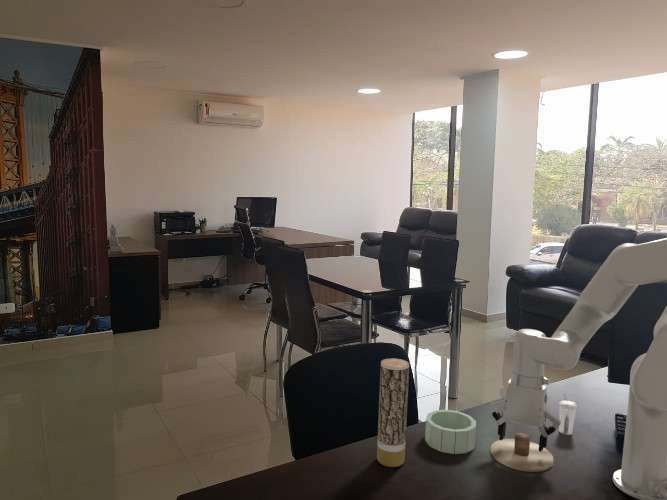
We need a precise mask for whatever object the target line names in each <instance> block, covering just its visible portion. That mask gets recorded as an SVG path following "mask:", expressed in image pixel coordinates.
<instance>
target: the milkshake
mask: <svg viewBox="0 0 667 500" xmlns="http://www.w3.org/2000/svg"><path fill="white" fill-rule="evenodd" d="M566 395H567V394H565V393H564V394H563V400H561V401H560V402H559V403H558V409H559V410H558V411H559V412H558V415H559V416H558V419H559V420H560V421H561V424H560V425H559V427H558V431H559V433H560V434H562V435H565V436H571V435H572V434H573V431H574V430H573V429H574V423H575V418H576V413H577V409H578V406H577V404H576V402H574V401H571V400H567V398H566V397H567V396H566Z"/></svg>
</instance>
